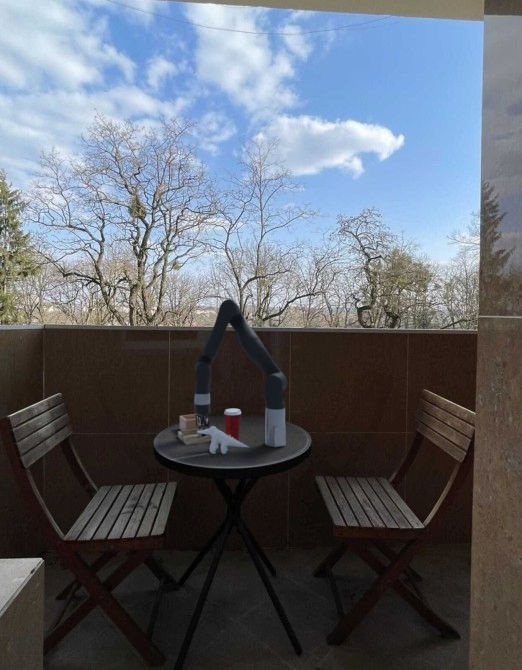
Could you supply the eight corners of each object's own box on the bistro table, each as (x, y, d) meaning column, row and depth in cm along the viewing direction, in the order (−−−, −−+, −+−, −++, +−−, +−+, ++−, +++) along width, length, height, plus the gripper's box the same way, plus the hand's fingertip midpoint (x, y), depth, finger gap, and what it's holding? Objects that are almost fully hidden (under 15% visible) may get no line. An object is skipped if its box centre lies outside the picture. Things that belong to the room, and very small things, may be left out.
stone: (208, 438, 173) (208, 429, 173) (199, 439, 171) (199, 431, 171) (204, 435, 177) (204, 427, 177) (196, 436, 175) (196, 428, 175)
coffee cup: (243, 439, 175) (243, 408, 175) (237, 444, 167) (238, 412, 167) (227, 437, 177) (227, 407, 177) (221, 443, 169) (221, 411, 169)
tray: (215, 442, 170) (215, 435, 170) (186, 447, 163) (186, 439, 163) (204, 434, 182) (204, 427, 182) (177, 438, 176) (177, 431, 176)
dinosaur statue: (197, 446, 161) (199, 422, 161) (249, 454, 159) (252, 429, 159) (192, 451, 155) (195, 426, 154) (247, 460, 152) (250, 434, 152)
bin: (205, 433, 185) (205, 418, 185) (185, 436, 180) (185, 420, 180) (198, 427, 194) (199, 413, 194) (179, 430, 189) (179, 415, 189)
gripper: (215, 404, 169) (214, 440, 170) (204, 399, 182) (204, 432, 182) (199, 406, 166) (199, 442, 166) (190, 400, 178) (190, 434, 179)
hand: (202, 437), depth 174 cm, fingers closed on stone, 4 cm apart
